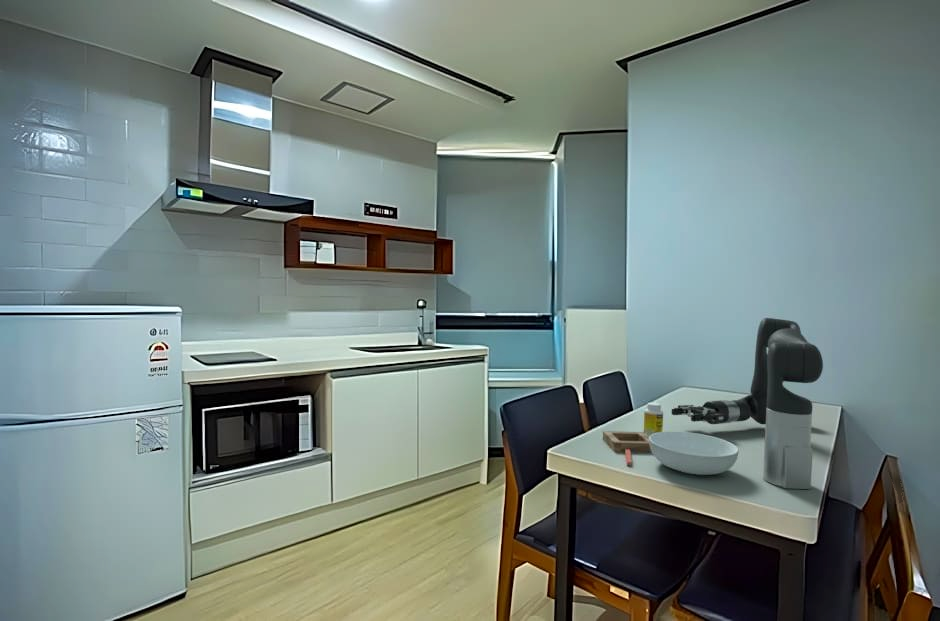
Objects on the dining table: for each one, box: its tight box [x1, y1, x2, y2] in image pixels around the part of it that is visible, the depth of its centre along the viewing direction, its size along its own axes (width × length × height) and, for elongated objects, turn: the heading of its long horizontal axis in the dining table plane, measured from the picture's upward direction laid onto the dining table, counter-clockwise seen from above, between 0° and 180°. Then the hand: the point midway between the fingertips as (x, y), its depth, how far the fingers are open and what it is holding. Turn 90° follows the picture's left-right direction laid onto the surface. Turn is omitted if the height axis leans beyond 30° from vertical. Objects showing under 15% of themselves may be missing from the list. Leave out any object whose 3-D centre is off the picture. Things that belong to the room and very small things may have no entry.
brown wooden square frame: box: [602, 430, 652, 453], centre depth 149 cm, size 12×12×2 cm
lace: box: [624, 449, 633, 467], centre depth 136 cm, size 12×1×1 cm, turn 165°
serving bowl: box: [649, 430, 740, 476], centre depth 130 cm, size 21×21×7 cm
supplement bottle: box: [643, 402, 664, 437], centre depth 159 cm, size 6×6×10 cm
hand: (681, 414), depth 163 cm, fingers open, 8 cm apart
